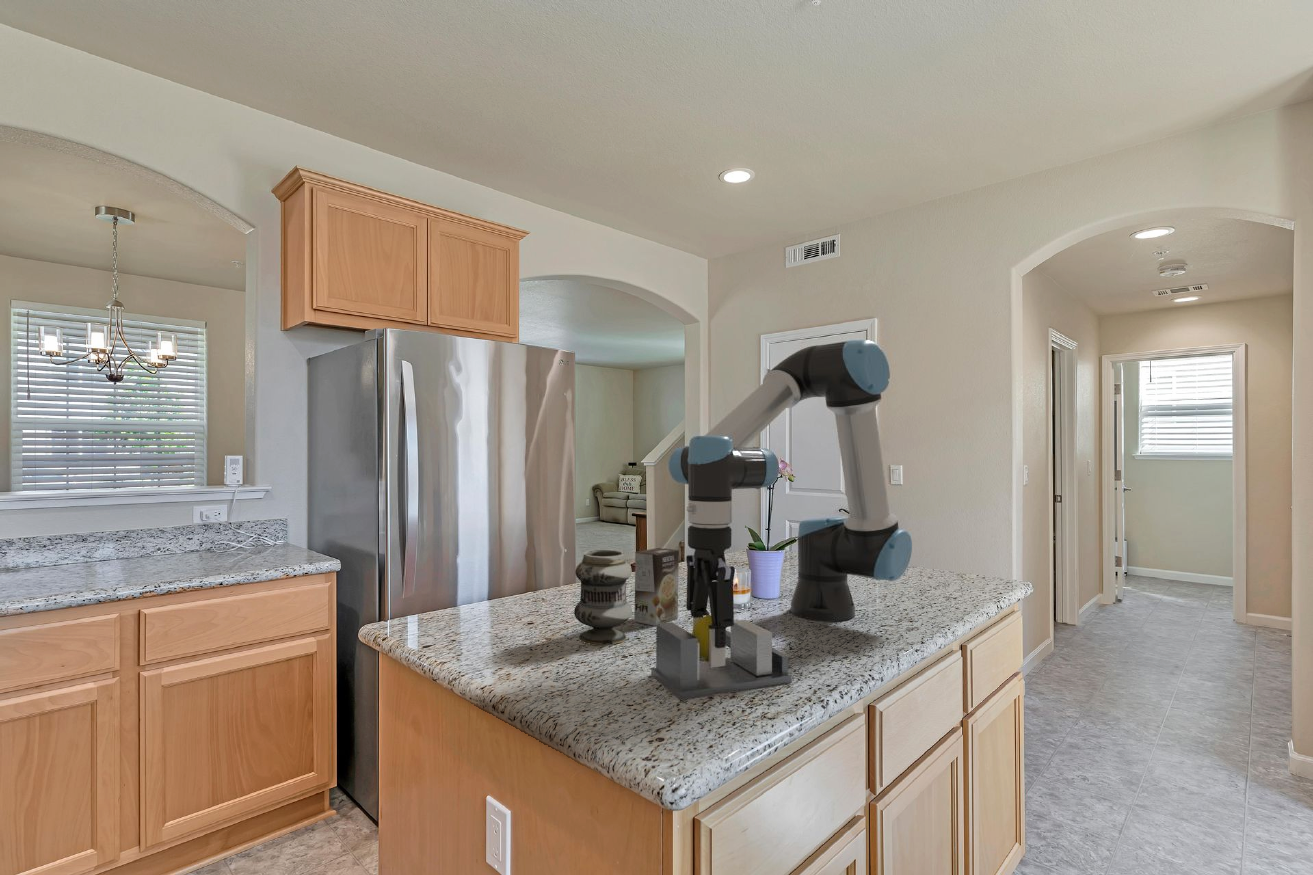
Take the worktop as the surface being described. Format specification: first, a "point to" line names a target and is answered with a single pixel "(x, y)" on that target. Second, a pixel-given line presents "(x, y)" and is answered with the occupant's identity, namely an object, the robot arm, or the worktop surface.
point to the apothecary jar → (603, 596)
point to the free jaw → (750, 647)
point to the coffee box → (656, 586)
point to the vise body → (705, 667)
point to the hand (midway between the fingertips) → (708, 659)
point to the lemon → (703, 636)
